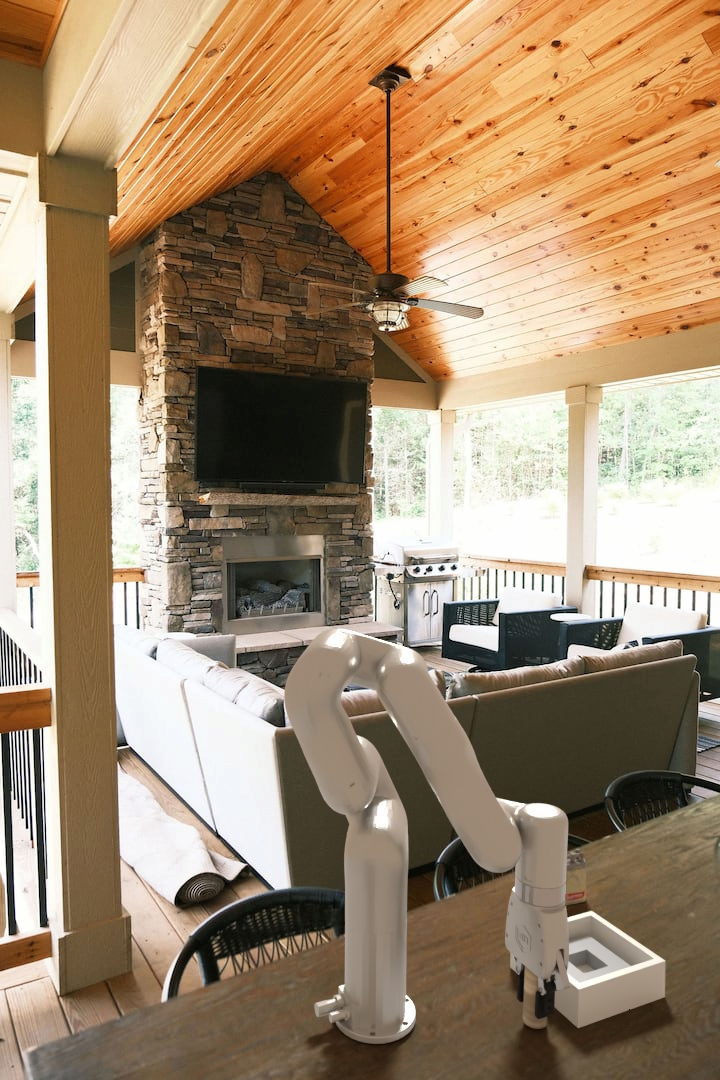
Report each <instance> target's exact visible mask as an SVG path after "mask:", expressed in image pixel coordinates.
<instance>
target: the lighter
mask: <svg viewBox="0 0 720 1080" xmlns="http://www.w3.org/2000/svg"><path fill="white" fill-rule="evenodd" d="M584 857H585V853H584V852H582V851H581V849H580V848H575V850H572V851H571V850H570V851H567V868H566V892H565V906H569V905H574V904H575V905H576V904H579V903H584V902H586V900H587V860H586V859H585V858H584Z"/></svg>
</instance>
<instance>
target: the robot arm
mask: <svg viewBox="0 0 720 1080" xmlns="http://www.w3.org/2000/svg"><path fill="white" fill-rule="evenodd" d="M349 685H355V686H358V687H361V688H364V689H369V690H372V691H375V692H376V694H377V696H378V697H377V698H378V699H379V700H380V702H381V704H382V706H383V708H384V710H385V711H386V713H387V714H388V716H389V718H390V719H391V720H392V722H393V724H394V725H395V727H396V729H397V730H398V731H399V733H400V735H401V736H402V738H403V740H404V741H405V743H406V745H407V746H408V748H409V750H410V751H411V753H412V755H413V757H415V760H416V762H417V763H418V765H419V767H420V769H421V770H422V772H423V776H424V778H425V779H426V781H427V783H428V784H429V786H430V788H431V789H432V791H433V792H434V795H435V796H436V799H438V802H439V803H440V805H441V807H442V809H443V811H444V812H445V815H446V817H447V818H448V820H449V823H450V824H451V825H452V827H453V829H454V831H455V832H456V834H457V835H458V837H459V838H460V840H461V841H462V843H463V846H464V847H465V848H466V850H467V852H468V853H469V855H470V856H471V858H472V859H473V860H474V862H475V863H476V864H477V865H478V866H479V867H481V869H482V868H483V869H484V870H485V871H488V872H490V873H495V874H500V873H501V874H502V873H506V872H507V871H510V870H512V869H513V868H514V869H515V871H514V872H515V873H514V874H515V876H514V877H515V878H514V886H513V888H512V889H511V892H510V896H509V901H508V907H507V914H506V922H505V933H504V934H505V935H504V944H505V947H506V949H507V951H508V952H509V954H510V953H511V954H512V955H513V956H514V958H515V961H516V972H517V973H518V974H519V975H518V974H517V973H516V972H515V973H516V974H517V986H516V987H517V989H516V990H517V991H516V993H517V994H516V1000H517V1001H519V1002H520V1003H521V1002H523V999H524V974H525V966H526V967H527V968H528V969H529V970H530V971H531V972H533V973H534V974H535V975H536V976H537V977H538V986H539V991H536V996H535V1017H536V1018H537V1019H541V1018H544V1017H547V1018H548V1017H550V1016H553V1015H554V1013H555V1007H554V1004H555V991H558V990H564V989H567V988H570V982H569V979H568V975H567V969H568V962H569V930H568V919H567V917H568V912H567V905H565V892H566V868H567V855H568V853H567V852H568V840H569V839H568V837H569V819H568V816H567V814H566V812H565V811H564V810H562V809H561V808H559V807H558V806H555V805H552V804H550V803H549V804H548V803H541V802H536V803H535V802H532V803H521V802H517V801H512V800H508V799H504V798H500V797H496V796H495V794H494V792H493V791H492V787H490V785H489V783H488V781H487V779H486V777H485V775H484V772H483V770H482V769H481V767H480V766H481V765H480V764H479V761H478V759H477V755H476V752H475V750H474V748H473V745H472V743H471V741H470V738H469V737H468V735H467V733H466V731H465V730H464V728H463V727H462V725H461V723H460V722H459V720H458V719H457V717H456V715H454V712H453V711H452V709H451V708H450V706H449V704H448V702H446V700H445V698H444V696H443V695H442V693H441V691H440V690H439V688H438V686H437V684H436V682H435V681H434V680H433V678H432V677H431V674H430V673H429V668H428V665H427V662H426V660H425V659H424V657H423V656H422V655H421V654H420V653H419V652H417V651H416V650H414V649H412V648H409V647H406V646H403V645H399V644H396V643H392V642H390V641H386V640H383V639H378V638H375V637H372V636H368V635H365V634H362V633H360V632H356V631H354V630H353V631H352V630H349V629H344V628H330V629H326V630H323V631H322V632H320V633H319V634H318V635H317V636H315V637H314V639H313V640H312V641H311V642H310V643H309V644H308V646H307V647H306V649H305V650H304V651H303V652H302V654H301V655H300V656H299V657H298V659H297V660H296V662H295V664H293V667H292V668H291V670H290V672H289V673H288V676H287V679H286V681H285V687H284V695H283V697H284V707H285V713H286V715H287V718H288V720H289V723H290V725H291V728H292V729H293V731H294V734H295V736H296V738H297V741H298V744H299V746H300V748H301V750H302V753H303V755H304V758H305V761H306V762H307V764H308V767H309V769H310V770H311V773H312V775H313V778H314V779H315V782H316V785H317V787H318V790H319V792H320V794H321V796H322V798H323V800H324V801H325V803H326V804H327V806H329V807H330V808H331V809H332V810H333V811H334V812H336V813H338V814H341V815H345V817H346V819H347V821H348V824H349V825H348V827H347V828H348V829H347V832H346V839H345V845H344V853H343V854H344V855H343V856H344V858H343V860H344V861H343V862H344V863H343V865H344V867H343V868H344V869H343V870H344V889H345V890H344V923H345V924H344V984H341V985H339V986H338V991H337V992H338V994H337V993H336V994H334V995H333V997H332V998H331V999H324V1000H321V1001H318V1002H314V1005H313V1007H314V1014H315V1016H316V1017H317V1018H320V1017H325V1016H327V1015H328V1020H329V1023H330V1024H333V1023H335V1024H336V1026H337V1028H338V1029H339V1030H340V1032H342V1033H343V1034H344V1035H345V1036H347V1037H348V1038H350V1039H352V1040H355V1041H357V1042H360V1043H364V1044H369V1045H370V1044H372V1045H381V1044H382V1045H383V1044H388V1043H392V1042H395V1041H398V1040H401V1039H402V1038H405V1036H406V1035H408V1034H409V1033H410V1032H412V1030H413V1028H414V1027H415V1024H416V1020H417V1019H416V1018H417V1016H416V1015H417V1011H416V1010H417V1009H416V1005H415V1004H414V1002H413V1000H411V998H410V997H409V996H408V995H407V951H408V950H407V943H408V942H407V938H408V935H407V934H408V933H407V932H408V929H407V928H408V912H407V911H408V876H409V875H408V874H409V833H408V830H409V829H408V827H409V826H408V817H407V813H406V810H405V807H404V805H403V802H402V799H401V798H400V796H399V793H398V791H397V789H396V788H395V785H394V783H393V780H392V779H391V777H390V774H389V772H388V770H387V768H386V765H385V764H384V763H385V762H384V761H383V758H382V756H381V755H380V753H379V751H378V750H377V748H376V747H375V745H374V744H373V743H372V742H370V741H369V740H368V739H367V738H365V737H363V736H360V735H357V733H356V731H355V729H354V726H353V724H352V722H351V719H350V718H349V715H348V714H347V712H346V710H345V709H344V707H343V704H342V693H344V690H345V689H346V688H347V687H348V686H349ZM546 978H550V981H549V982H547V983H546Z"/></svg>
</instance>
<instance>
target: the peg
mask: <svg viewBox="0 0 720 1080" xmlns="http://www.w3.org/2000/svg"><path fill="white" fill-rule="evenodd" d="M547 982H549V978H546V983H547ZM536 991H539V986H538V977H537V976H536V975H535V974H534V973H533V972H531V971H530V970H529V969H528V968H527V967H526V966H525V974H524V999H523V1003H522V1021H523V1023H524V1024H525V1026H527V1027H529V1028H531V1029H537V1030H538V1029H539V1030H540V1029H544V1028H546V1027H547V1024H548V1017H544V1018H541V1019H537V1018H536V1017H535V996H536Z"/></svg>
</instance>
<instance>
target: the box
mask: <svg viewBox="0 0 720 1080" xmlns="http://www.w3.org/2000/svg"><path fill="white" fill-rule="evenodd" d="M567 919H568V930H569V962H568V969H567V975H568V979H569V982H570V988H567V989H564V990H558V991H555V1004H554V1009H556V1010H557V1011H558V1012H559V1013H561V1015H562V1016H564V1017H565V1018H566V1019H567V1020H568V1021H569V1022H570V1023H571V1024H573V1025H574V1026H575V1027H576V1028H577V1029H580V1028H583V1027H585V1026H588V1025H592V1024H593V1023H596V1022H599V1021H602V1020H605V1019H607V1018H611V1017H613V1016H616V1015H620V1014H621V1013H625V1012H627V1011H629V1009H630V1010H633V1009H636V1008H638V1007H641V1006H644V1005H646V1004H649V1003H652V1002H655V1001H657V1000H661V999H664V998H665V997H666V963H667V962H666V960H665V959H663V958H662V957H661V956H659V955H657V954H656V953H654V951H651V950H650V948H648V947H647V946H644V945H643V944H641V943H640V942H638V941H637V940H636V939H634V938H633V937H631V936H630V935H628V934H627V933H625V932H623V931H622V930H621V929H619V927H616V926H615V925H613V924H612V923H611V922H609V921H608V920H606V919H605V918H603V917H601V916H600V915H599V914H597V913H596V912H594V911H593V910H588V911H586V912H582V913H579V914H576V915H572V916H569V917H568V916H567ZM509 955H510V957H509V959H510V963H509V966H510V969H511V970H513V971H514V972H515V974H517V976H518V975H519V974H518V973H517V972H516V961H515V958H514V956H513V955H512V954H511V953H510V952H509ZM549 981H550V978H549Z"/></svg>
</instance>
